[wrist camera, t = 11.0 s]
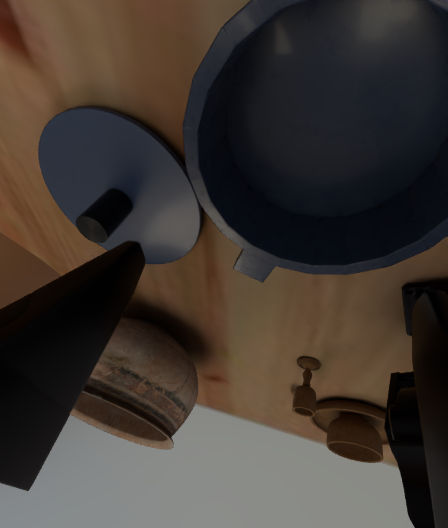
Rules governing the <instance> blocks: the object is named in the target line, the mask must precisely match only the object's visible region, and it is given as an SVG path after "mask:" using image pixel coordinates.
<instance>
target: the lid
mask: <svg viewBox="0 0 448 528" xmlns="http://www.w3.org/2000/svg"><path fill="white" fill-rule="evenodd" d="M38 155H39V163H40V168H41V172H42V175H43V178H44V180H45V183H46V185H47V187H48V189H49V192H50V193H51V195H52V197H53V198H54V200H55V202H56V203H57V205H58V206H59V207H60V209H61V210H62V212H63V213H64V214H65V215H66V216H67V218H68V219H69V220H70V221H71V222H72V223H73V224H74V225H75V226H76V227H77V228H78V230H79V231H80V233H81V234H82V235H83V236H84V237H86V238H87V239H88V240H90V241H92V242H95V243H97V244H98V245H100V246H101V247H103V248H105V249H106V250H108V251H109V250H111V249H112V248H114V247H116V246H118V245H120V244H122V243H123V242H125V241H128V240H131V241H137V242H139V243H140V244H141V247H142V250H143V253H144V255H145V259H146V262H145V263H146V264H165V263H169V262H173V261H176V260H178V259H180V258H182V257H183V256H185V255H186V254H187V253H188V252H189V251H190V250H191V249H192V248H193V246H194V245H195V243H196V241H197V239H198V237H199V234H200V231H201V226H202V209H201V205H200V203H199V201H198V199H197V196H196V194H195V191H194V188H193V186H192V183H191V181H190V178H189V175H188V173H187V170H186V168H185V166H184V165H183V163H182V162H181V161H180V160H179V158H178V157H177V156H176V154H175V153H174V152H173V151H172V150H171V149H170V148H169V147H168V146H167V145H166V143H165V142H163V141H162V140H161V139H160V138H159V137H158V136H157V135H155V134H154V133H153V132H152V131H150V130H149V129H148V128H146V127H145V126H143V125H142V124H140V123H139V122H137V121H135V120H133V119H131V118H130V117H128V116H125V115H123V114H120V113H118V112H116V111H112V110H109V109H105V108H100V107H92V106H85V107H76V108H71V109H68V110H66V111H64V112H62V113H60V114H58V115H56V116H55V117H54V118H52V119H51V120H50V121H49V122H48V124H47V125H46V126H45V128H44V130H43V132H42V134H41V137H40V142H39V153H38Z"/></svg>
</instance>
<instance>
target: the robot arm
mask: <svg viewBox="0 0 448 528" xmlns="http://www.w3.org/2000/svg"><path fill="white" fill-rule="evenodd" d="M145 262H146V259H145V255H144V253H143V250H142V247H141V244H140V243H139V242H137V241H131V240H128V241H125V242H123V243H122V244H120V245H118V246H116V247H114V248H112V249H111V250H109V251H107V252H105V253H103V254H102V255H100V256H98V257H96V258H94V259H92V260H91V261H89V262H87V263H85V264H83V265H81V266H80V267H78V268H76V269H74V270H72V271H70V272H69V273H67V274H65V275H63V276H61V277H59V278H58V279H56V280H54V281H52V282H50V283H48V284H46V285H45V286H43V287H41V288H39V289H37V290H35V291H34V292H33V293H30V294H28V295H26V296H24V297H23V298H21V299H19V300H17V301H15V302H14V303H11V304H9V305H8V306H6V307H4V308H2V309H0V483H2V484H5V485H9V486H12V487H16V488H19V489H23V490H26V491H29V489H30V488H31V486H32V484H33V483H34V481H35V479H36V477H37V475H38V473H39V471H40V470H41V468H42V466H43V464H44V462H45V460H46V458H47V457H48V455H49V453H50V451H51V449H52V447H53V445H54V443H55V442H56V440H57V438H58V436H59V434H60V432H61V430H62V429H63V426H64V425H65V423H66V421H67V419H68V417H69V415H70V413H71V411H72V409H73V408H74V406H75V404H76V402H77V400H78V398H79V396H80V394H81V393H82V391H83V389H84V387H85V385H86V383H87V381H88V379H89V378H90V376H91V374H92V372H93V370H94V368H95V366H96V364H97V363H98V361H99V359H100V357H101V355H102V353H103V351H104V349H105V348H106V346H107V344H108V342H109V340H110V338H111V336H112V334H113V333H114V331H115V329H116V327H117V325H118V323H119V321H120V319H121V318H122V316H123V314H124V312H125V310H126V308H127V306H128V304H129V302H130V300H131V298H132V296H133V294H134V291H135V289H136V286H137V284H138V281H139V279H140V276H141V274H142V271H143V269H144V266H145ZM408 290H410V291H408ZM402 297H403V305H404V314H405V323H406V331H407V334H408V335H409V336H412V362H413V371H412V372H405V373H400V372H395V373H391V378H390V385H389V392H388V400H387V408H386V415H385V424H384V429H385V432H386V434H387V439H388V442H389V445H390V448H391V450H392V453H393V455H394V457H395V459H396V461H397V463H398V467H399V470H400V473H401V477H402V482H403V487H404V493H405V499H406V505H407V511H408V515H409V518H410V520H411V522H412V524H413V525H414V527H415V528H448V281H447V282H433V283H419V284H407V285H404V286H403V287H402Z"/></svg>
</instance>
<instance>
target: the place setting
mask: <svg viewBox="0 0 448 528" xmlns="http://www.w3.org/2000/svg"><path fill="white" fill-rule="evenodd" d="M297 364H298V365H299V366H300V367H301V368H303V369H306V370H305V371H304V373H303V378H304V382H303V385H302V386H299V387H298V388H297V389H296V391H295V389H294V392H293V391H292V388H291V393H292V394H293V411H294V412H295V413H297V414H299V415H301V416H305V417H310V420H311V422H312V423H313V425H314V426H316V427H317V428H318V429H320V430H321V431H323V432H325V433H327V447H328V449H329V450H330V451H332V452H334V453H335V454H337V455H339V456H342V457H344V458H347V459H351V460H355V461H360V462H368V463H376V462H380V461H382V460H383V449H382V445H389V442H388V439H387V434H386V432H385V429H384V424H385V415H386V413H385V412H383V411H381V410H379V409H377V408H375V407H373V406H370V405H367V404H364V403H360V402H355V401H348V400H331V401H325V402H322V403H319V404H317V405H316V393H315V391H314V390H313V389H312V388H311V387H310V380H311V378H312V373H311V370H318V369H319V368H320V367H321V364H320V363H319V361H317V360H315V359H313V358H310V357H301V358H299V359H298V360H297Z"/></svg>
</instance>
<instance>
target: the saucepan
mask: <svg viewBox="0 0 448 528" xmlns="http://www.w3.org/2000/svg"><path fill="white" fill-rule="evenodd" d="M183 137H184V150H185V162H186V170H187V173H188V175H189V178H190V181H191V183H192V186H193V188H194V191H195V194H196V196H197V199H198V201H199V203H200V205H201V206H202V208H203V209H204V210H205V212H206V213H207V214H208V216H209V217H210V218H211V220H212V221H213V222H214V224H215V225H216V226H217V228H218V229H219V230H220V231H221V232H222V233H223V234H224V235H225V236H227V237H228V238H229V239H230V240H231V241H233V242H234V243H235V244H236V245H238V246H239V247H240V248H241V249H242V251H241V252H240V254H239V256H238V258H237V259H236V262H235V264H234V267H233V269H235V270H237V271H239V272H241V273H243V274H245V275H247V276H249V277H252V278H254V279H256V280H258V281H260V282H262V283H263V282H264V280H265V279H266V278H267V276H268V275H269V274H270V273H271V271H272V270H273V269H274V267H275V266H278V267H281V268H285V269H290V270H294V271H299V272H303V273H308V274H342V275H347V274H348V273H349V274H354V273H359V272H364V271H369V270H374V269H379V268H384V267H388V266H391V265H394V264H396V263H398V262H401V261H403V260H405V259H407V258H410V257H412V256H414V255H417V254H419V253H421V252H423V251H426V250H428V249H430V248H431V247H433V246H435V245H436V244H437V243H438V242H440V241H441V240H442V239H444V238H445V237H446V236H448V0H251V1H250V2H248V3H247V4H246V5H245V6H244V7H243V8H242V9H241V10H240V11H238V12H237V13H236V14H235V15H234V16H233V17H232V18H231V19H229V20H228V21H227V22H226V23H225V24H224V26H223V27H221V29H220V31H219V33H218V34H217V36H216V38H215V40H214V41H213V43H212V45H211V47H210V48H209V50H208V52H207V54H206V55H205V57H204V59H203V61H202V62H201V64H200V66H199V68H198V69H197V71H196V73H195V74H194V78H193V80H192V84H191V89H190V93H189V98H188V102H187V107H186V112H185V116H184V121H183Z"/></svg>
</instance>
